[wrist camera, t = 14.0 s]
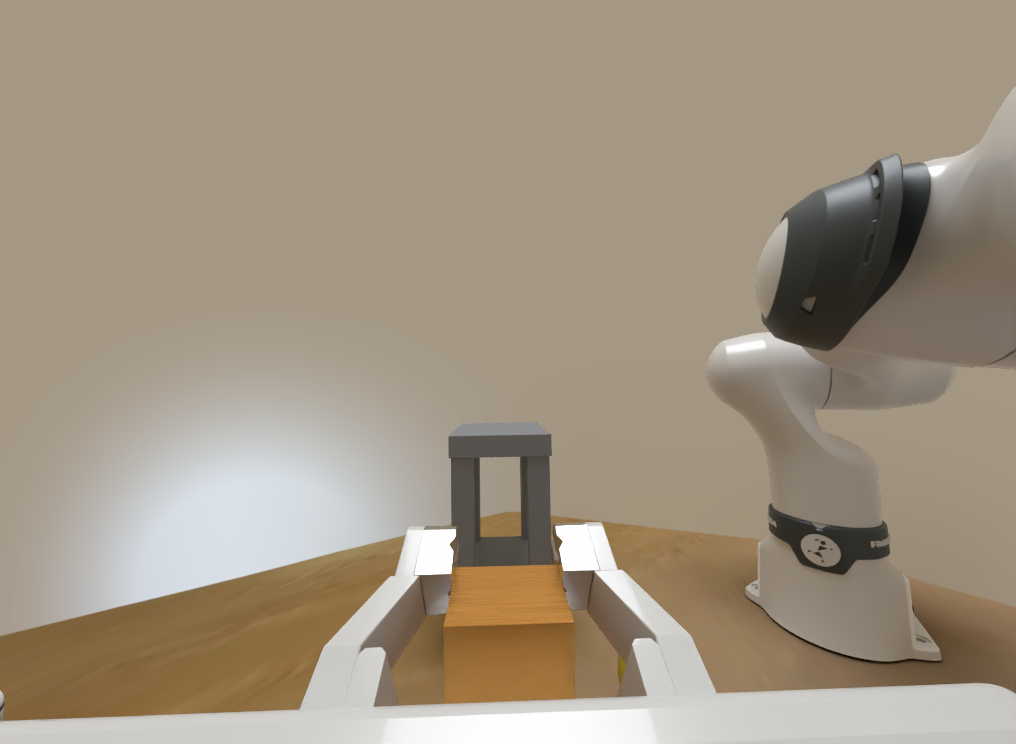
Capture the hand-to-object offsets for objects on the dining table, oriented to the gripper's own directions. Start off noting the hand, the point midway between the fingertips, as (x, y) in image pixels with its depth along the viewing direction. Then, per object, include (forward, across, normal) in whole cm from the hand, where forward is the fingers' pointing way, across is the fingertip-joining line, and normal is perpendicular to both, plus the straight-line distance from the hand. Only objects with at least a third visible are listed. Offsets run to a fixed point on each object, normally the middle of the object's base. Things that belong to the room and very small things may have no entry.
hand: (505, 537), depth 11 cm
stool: (+20, 0, +42) cm, 47 cm away
